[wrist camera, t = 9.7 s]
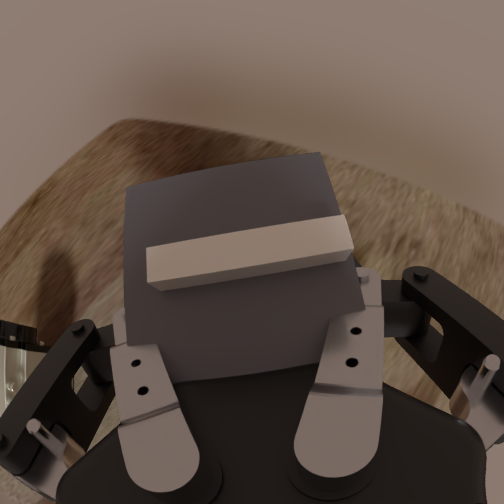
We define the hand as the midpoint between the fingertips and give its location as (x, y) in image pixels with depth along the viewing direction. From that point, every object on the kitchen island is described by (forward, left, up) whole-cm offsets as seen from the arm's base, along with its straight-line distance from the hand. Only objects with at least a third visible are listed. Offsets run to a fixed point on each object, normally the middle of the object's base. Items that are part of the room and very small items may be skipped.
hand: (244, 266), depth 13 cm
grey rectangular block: (+1, -1, -4) cm, 5 cm away
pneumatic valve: (-12, -19, -14) cm, 27 cm away
